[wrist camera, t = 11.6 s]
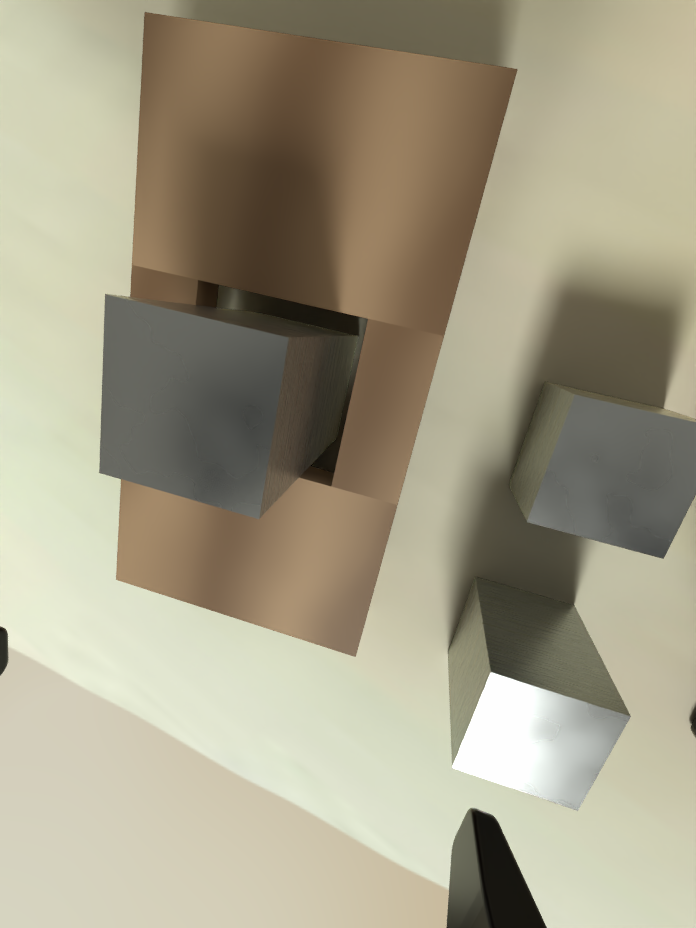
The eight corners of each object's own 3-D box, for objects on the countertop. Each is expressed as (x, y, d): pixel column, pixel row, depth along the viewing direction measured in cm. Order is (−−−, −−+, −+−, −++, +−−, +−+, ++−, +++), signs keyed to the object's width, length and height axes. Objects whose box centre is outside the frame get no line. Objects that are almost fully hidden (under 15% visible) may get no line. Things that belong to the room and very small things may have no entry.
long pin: (358, 335, 18) (288, 337, 9) (337, 437, 19) (258, 519, 11) (257, 312, 18) (105, 294, 10) (243, 413, 20) (99, 472, 11)
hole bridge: (499, 127, 15) (517, 69, 12) (367, 606, 21) (355, 656, 18) (203, 77, 16) (144, 12, 13) (162, 543, 23) (116, 579, 19)
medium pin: (573, 604, 19) (630, 716, 14) (539, 681, 21) (578, 811, 15) (475, 576, 20) (490, 672, 14) (447, 652, 21) (452, 767, 16)
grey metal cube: (662, 408, 17) (728, 429, 13) (616, 511, 18) (663, 558, 14) (544, 381, 17) (574, 394, 13) (508, 483, 18) (526, 522, 15)
